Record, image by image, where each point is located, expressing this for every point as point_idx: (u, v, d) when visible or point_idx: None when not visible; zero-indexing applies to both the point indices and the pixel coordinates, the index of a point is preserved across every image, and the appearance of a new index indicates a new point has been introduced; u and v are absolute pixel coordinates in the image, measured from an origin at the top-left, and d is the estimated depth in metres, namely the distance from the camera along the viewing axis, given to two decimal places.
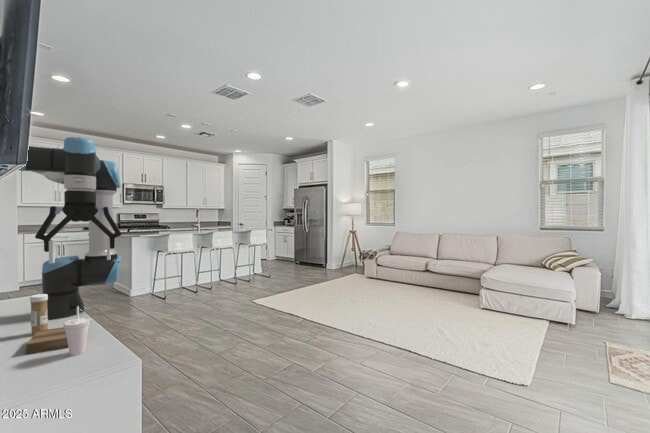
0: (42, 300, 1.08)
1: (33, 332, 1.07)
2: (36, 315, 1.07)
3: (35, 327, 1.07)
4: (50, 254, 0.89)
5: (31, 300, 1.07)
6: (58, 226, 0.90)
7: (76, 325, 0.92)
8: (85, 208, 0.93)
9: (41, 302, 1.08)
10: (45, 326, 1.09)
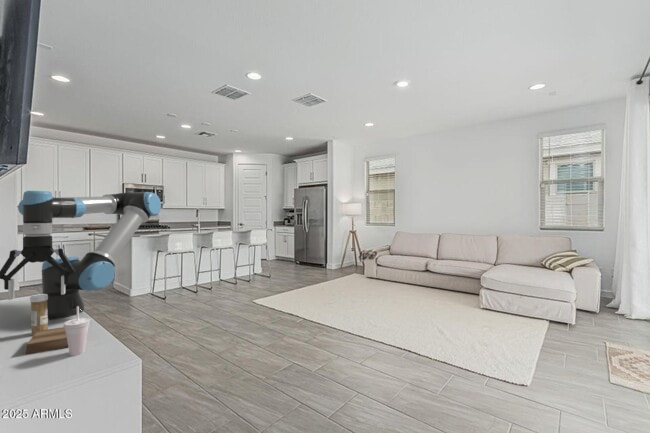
0: (42, 300, 1.08)
1: (33, 332, 1.07)
2: (36, 315, 1.07)
3: (35, 327, 1.07)
4: (9, 291, 1.04)
5: (31, 300, 1.07)
6: (17, 267, 1.05)
7: (76, 325, 0.92)
8: (41, 250, 1.08)
9: (41, 302, 1.08)
10: (45, 326, 1.09)
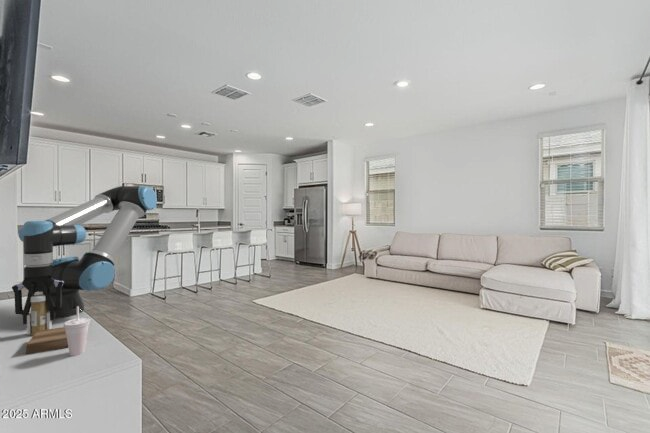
0: (42, 300, 1.08)
1: (33, 332, 1.07)
2: (36, 315, 1.07)
3: (35, 327, 1.07)
4: (28, 326, 1.07)
5: (31, 300, 1.07)
6: (27, 300, 1.07)
7: (76, 325, 0.92)
8: (44, 278, 1.09)
9: (41, 302, 1.08)
10: (45, 326, 1.09)
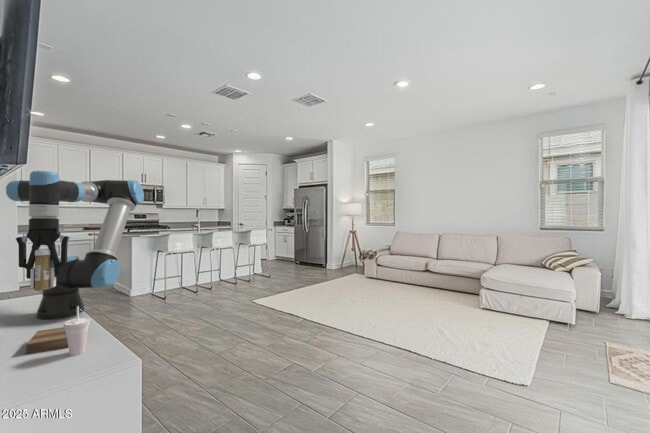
0: (46, 254, 1.04)
1: (36, 287, 1.02)
2: (40, 269, 1.03)
3: (38, 282, 1.02)
4: (31, 281, 1.02)
5: (35, 253, 1.03)
6: (32, 253, 1.02)
7: (76, 325, 0.92)
8: (49, 231, 1.04)
9: (45, 256, 1.03)
10: (49, 282, 1.04)
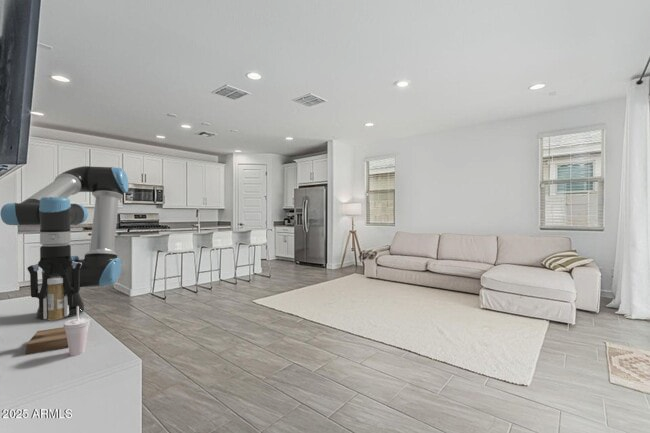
0: (59, 282, 1.00)
1: (50, 317, 1.00)
2: (53, 299, 0.99)
3: (52, 311, 1.00)
4: (44, 310, 0.99)
5: (48, 282, 0.99)
6: (44, 282, 0.99)
7: (76, 325, 0.92)
8: (61, 259, 1.01)
9: (58, 285, 1.00)
10: (62, 310, 1.02)
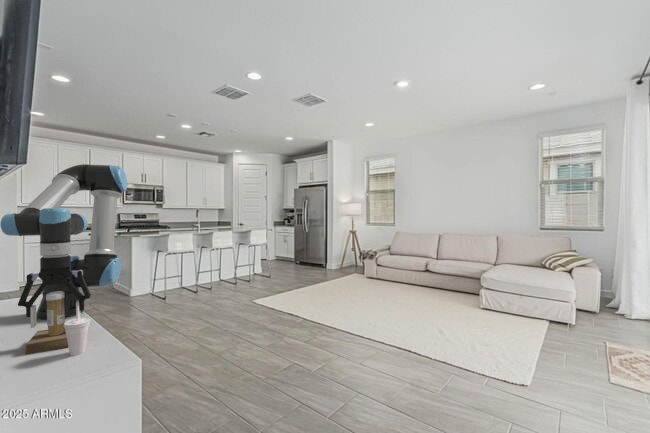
0: (59, 298, 1.00)
1: (50, 332, 1.00)
2: (53, 314, 0.99)
3: (52, 327, 1.00)
4: (32, 319, 0.98)
5: (47, 298, 0.99)
6: (37, 292, 0.98)
7: (76, 325, 0.92)
8: (60, 271, 1.01)
9: (57, 301, 1.00)
10: (62, 326, 1.02)
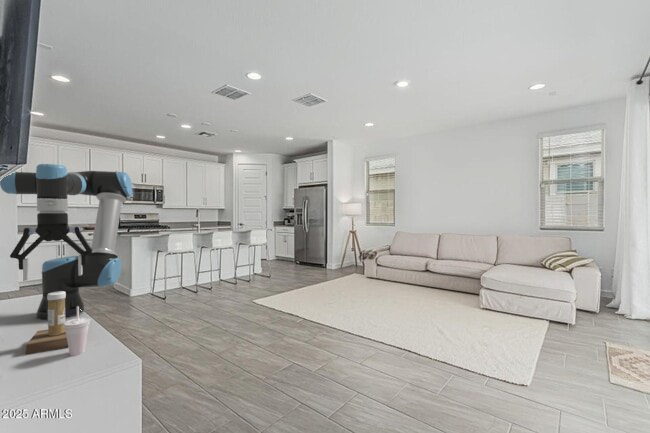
0: (60, 298, 1.01)
1: (50, 332, 1.00)
2: (53, 314, 1.00)
3: (52, 327, 1.00)
4: (24, 272, 0.98)
5: (48, 298, 0.99)
6: (32, 246, 0.98)
7: (76, 325, 0.92)
8: (57, 228, 1.02)
9: (59, 300, 1.00)
10: None
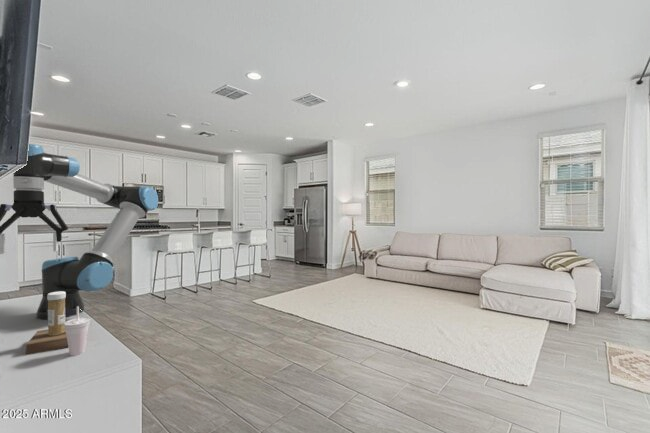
0: (60, 298, 1.01)
1: (50, 332, 1.00)
2: (53, 314, 1.00)
3: (52, 327, 1.00)
4: (0, 246, 1.02)
5: (48, 298, 0.99)
6: (8, 221, 1.03)
7: (76, 325, 0.92)
8: (33, 205, 1.06)
9: (59, 301, 1.00)
10: None
